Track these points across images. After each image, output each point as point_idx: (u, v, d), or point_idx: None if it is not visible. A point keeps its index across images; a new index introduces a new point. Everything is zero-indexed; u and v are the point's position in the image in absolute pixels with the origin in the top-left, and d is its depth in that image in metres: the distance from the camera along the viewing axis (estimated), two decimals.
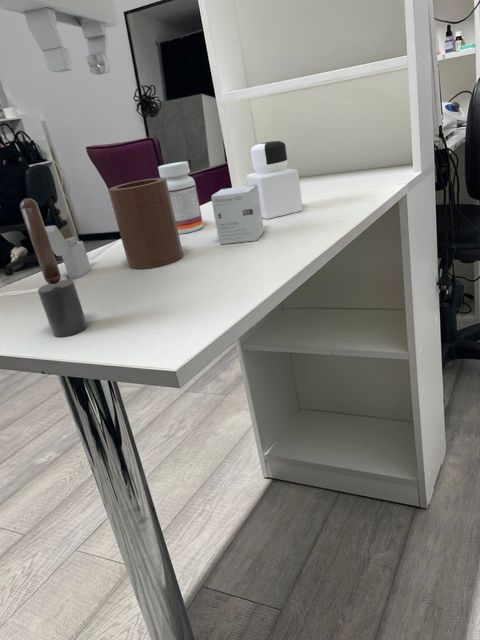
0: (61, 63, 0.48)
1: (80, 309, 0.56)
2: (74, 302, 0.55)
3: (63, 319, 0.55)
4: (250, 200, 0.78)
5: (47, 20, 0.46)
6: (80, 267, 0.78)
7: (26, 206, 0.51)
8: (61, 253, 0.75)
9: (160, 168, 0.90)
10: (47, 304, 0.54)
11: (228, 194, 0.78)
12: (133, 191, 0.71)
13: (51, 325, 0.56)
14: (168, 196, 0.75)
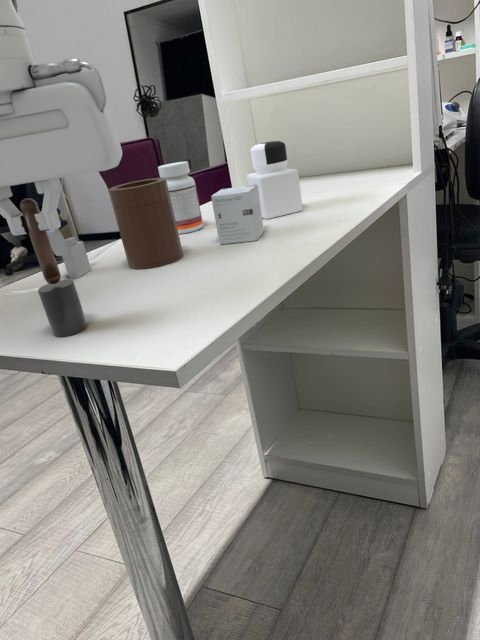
0: None
1: (80, 309, 0.56)
2: (74, 302, 0.55)
3: (63, 319, 0.55)
4: (250, 200, 0.78)
5: None
6: (80, 267, 0.78)
7: (26, 206, 0.51)
8: (61, 253, 0.75)
9: (160, 168, 0.90)
10: (47, 304, 0.54)
11: (228, 194, 0.78)
12: (133, 191, 0.71)
13: (51, 325, 0.56)
14: (168, 196, 0.75)
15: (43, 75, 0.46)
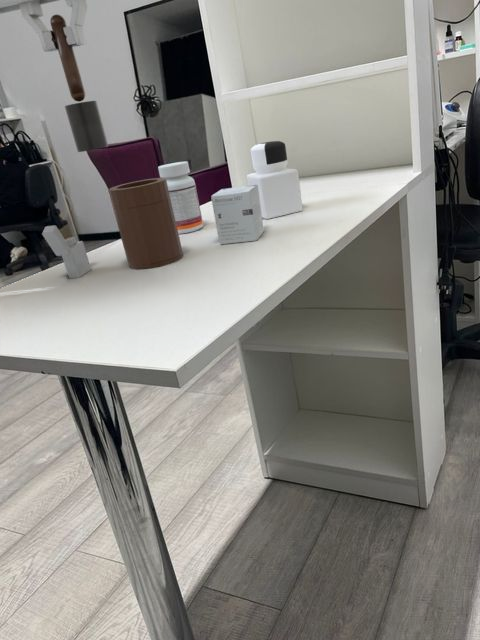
0: None
1: (102, 127, 0.63)
2: (97, 118, 0.62)
3: (87, 133, 0.61)
4: (250, 200, 0.78)
5: (22, 14, 0.58)
6: (80, 267, 0.78)
7: (56, 20, 0.58)
8: (61, 253, 0.75)
9: (160, 168, 0.90)
10: (73, 117, 0.61)
11: (228, 194, 0.78)
12: (133, 191, 0.71)
13: (76, 140, 0.62)
14: (168, 196, 0.75)
15: None
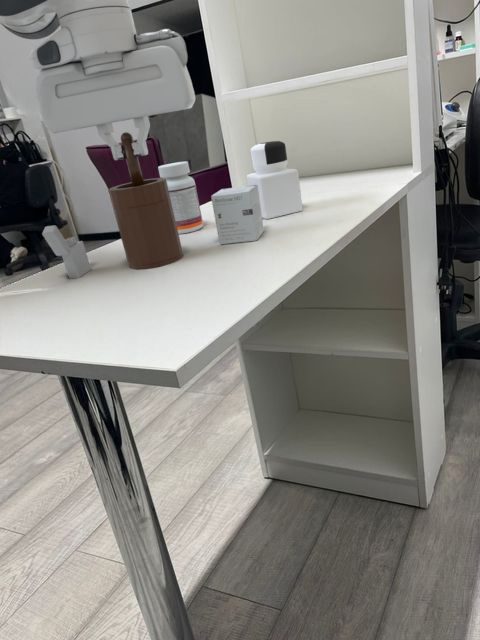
0: None
1: None
2: None
3: None
4: (250, 200, 0.78)
5: None
6: (80, 267, 0.78)
7: (125, 137, 0.72)
8: (61, 253, 0.75)
9: (160, 168, 0.90)
10: None
11: (228, 194, 0.78)
12: (133, 191, 0.71)
13: None
14: (168, 196, 0.75)
15: (144, 41, 0.67)
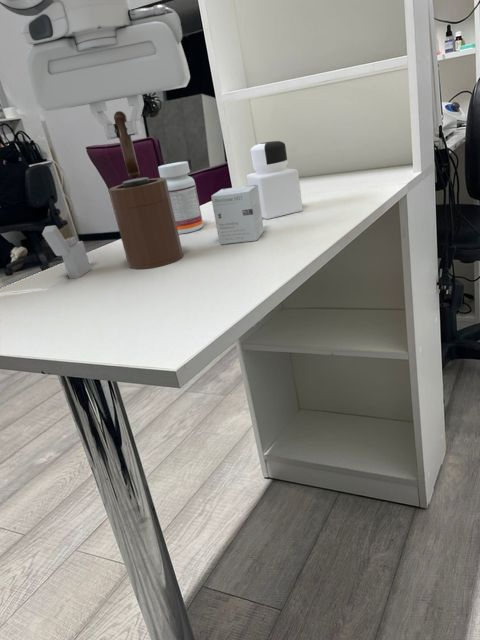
0: None
1: None
2: None
3: None
4: (250, 200, 0.78)
5: None
6: (80, 267, 0.78)
7: (119, 116, 0.70)
8: (61, 253, 0.75)
9: (160, 168, 0.90)
10: None
11: (228, 194, 0.78)
12: (133, 191, 0.71)
13: None
14: (168, 196, 0.75)
15: (138, 16, 0.66)
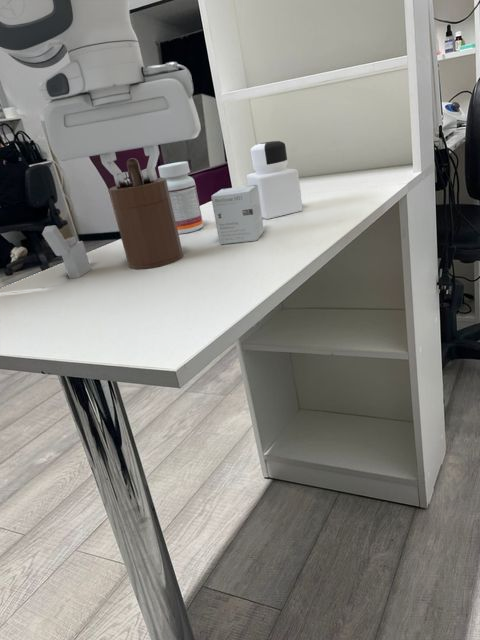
0: None
1: None
2: None
3: None
4: (250, 200, 0.78)
5: (102, 161, 0.73)
6: (80, 267, 0.78)
7: (132, 163, 0.73)
8: (61, 253, 0.75)
9: (160, 168, 0.90)
10: None
11: (228, 194, 0.78)
12: (133, 191, 0.71)
13: None
14: (168, 196, 0.75)
15: (151, 73, 0.68)
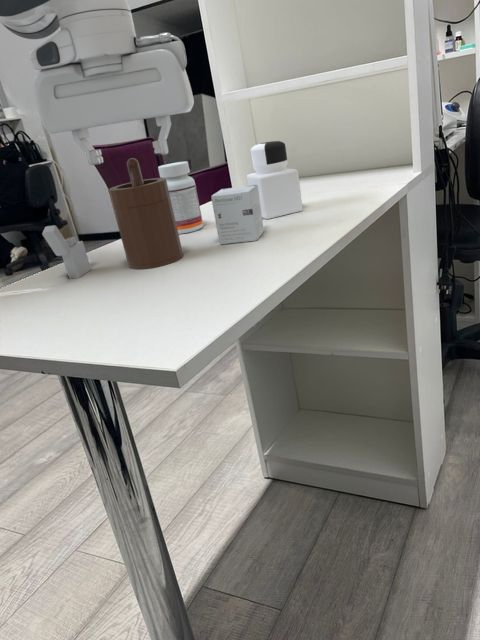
0: None
1: None
2: None
3: None
4: (250, 200, 0.78)
5: (74, 137, 0.72)
6: (80, 267, 0.78)
7: (132, 163, 0.73)
8: (61, 253, 0.75)
9: (160, 168, 0.90)
10: None
11: (228, 194, 0.78)
12: (133, 191, 0.71)
13: None
14: (168, 196, 0.75)
15: (144, 44, 0.67)
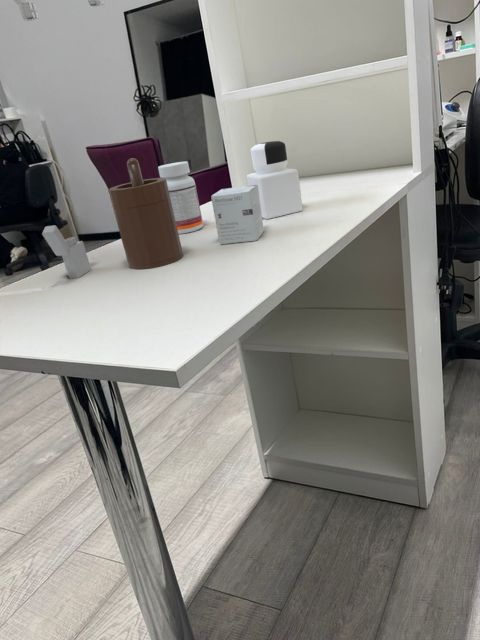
0: None
1: None
2: None
3: None
4: (250, 200, 0.78)
5: None
6: (80, 267, 0.78)
7: (132, 163, 0.73)
8: (61, 253, 0.75)
9: (160, 168, 0.90)
10: None
11: (228, 194, 0.78)
12: (133, 191, 0.71)
13: None
14: (168, 196, 0.75)
15: None
